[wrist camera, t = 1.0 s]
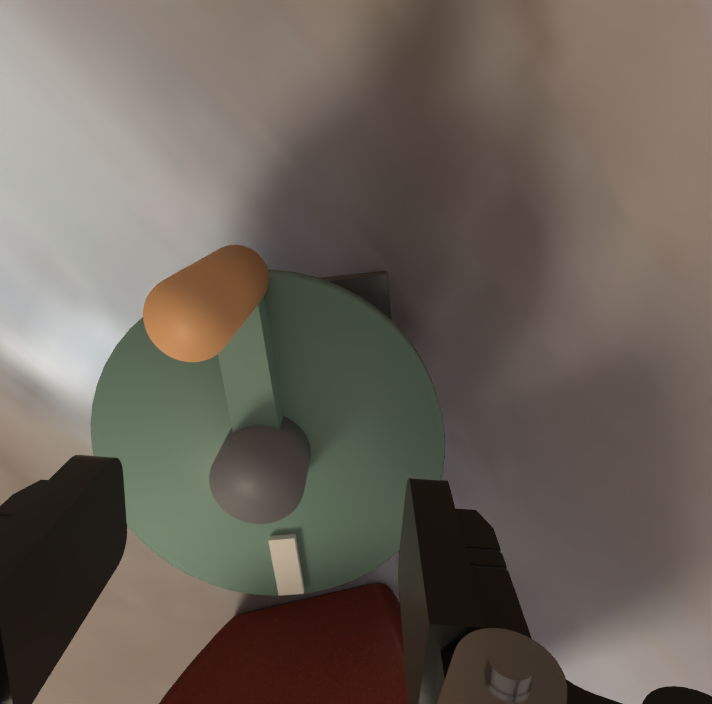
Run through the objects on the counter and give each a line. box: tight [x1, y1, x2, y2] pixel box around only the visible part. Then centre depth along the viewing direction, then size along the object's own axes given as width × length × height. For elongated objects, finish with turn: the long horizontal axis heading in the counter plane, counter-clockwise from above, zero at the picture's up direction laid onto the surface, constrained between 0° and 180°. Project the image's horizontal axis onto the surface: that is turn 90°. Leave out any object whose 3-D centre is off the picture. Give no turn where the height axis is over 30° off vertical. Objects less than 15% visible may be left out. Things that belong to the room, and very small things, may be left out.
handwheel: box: [91, 245, 445, 596], centre depth 26 cm, size 20×18×9 cm
